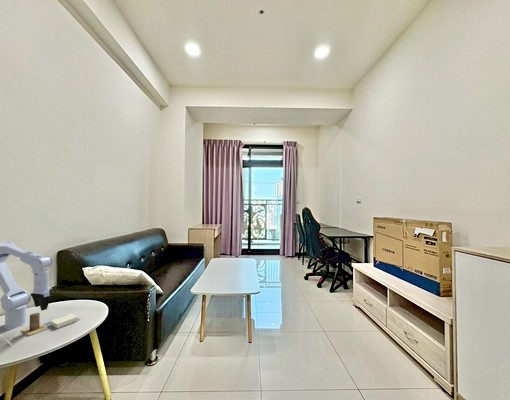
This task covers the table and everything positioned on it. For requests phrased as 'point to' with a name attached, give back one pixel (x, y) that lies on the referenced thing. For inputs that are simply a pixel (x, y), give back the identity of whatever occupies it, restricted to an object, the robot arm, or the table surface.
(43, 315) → the table surface
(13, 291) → the robot arm
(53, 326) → the mat
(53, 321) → the tile
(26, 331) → the board
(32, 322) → the dowel
